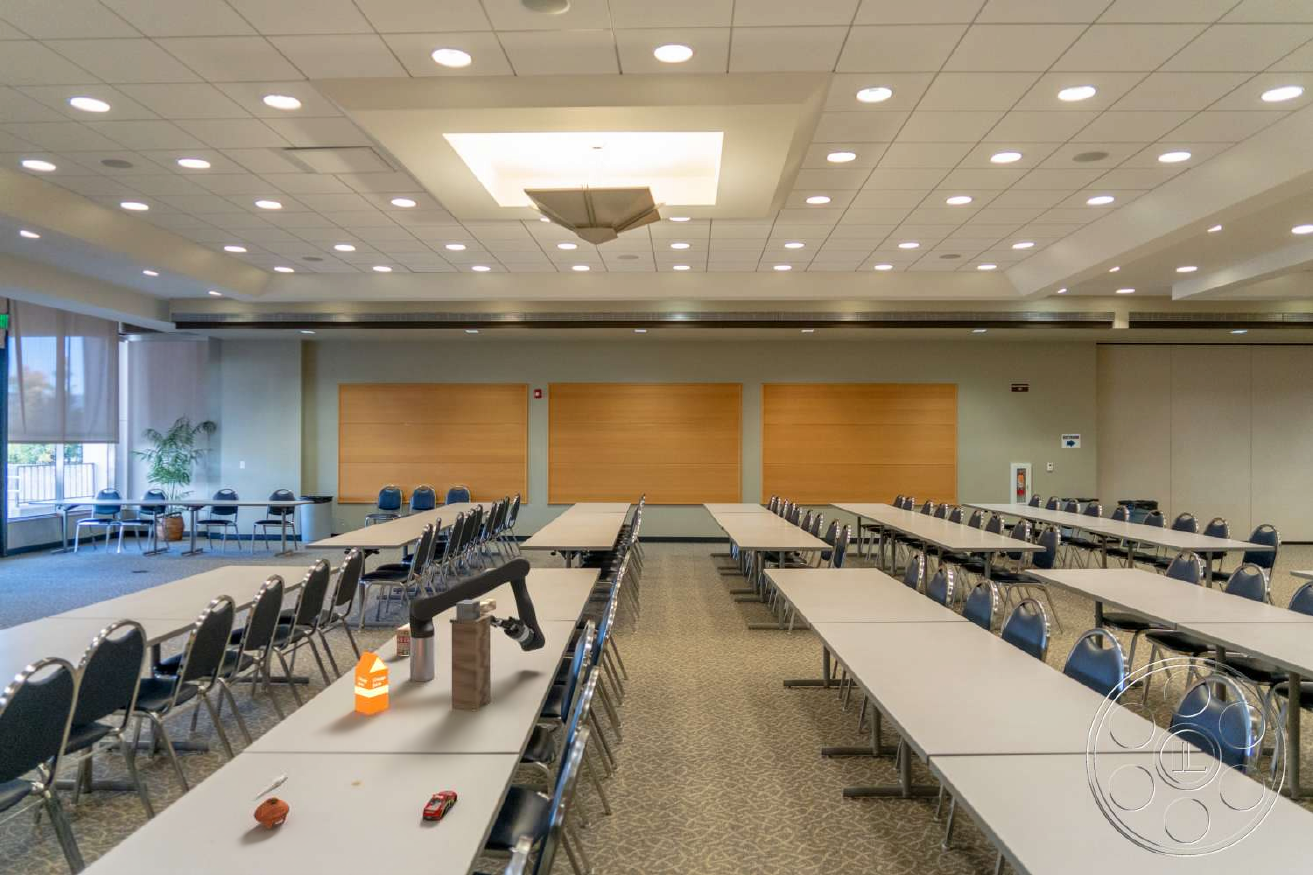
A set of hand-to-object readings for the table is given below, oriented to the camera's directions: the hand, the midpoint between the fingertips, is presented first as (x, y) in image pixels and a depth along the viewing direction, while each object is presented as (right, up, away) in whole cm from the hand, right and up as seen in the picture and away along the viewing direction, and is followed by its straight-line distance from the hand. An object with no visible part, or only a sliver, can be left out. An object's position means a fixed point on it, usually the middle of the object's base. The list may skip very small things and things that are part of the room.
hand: (499, 617), depth 297 cm
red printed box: (-51, -28, +55) cm, 80 cm away
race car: (+5, -27, -98) cm, 102 cm away
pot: (-35, -27, -106) cm, 115 cm away
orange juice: (-41, -27, -23) cm, 55 cm away
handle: (-5, +5, -15) cm, 16 cm away
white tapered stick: (-46, -27, -86) cm, 101 cm away
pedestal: (-6, -27, -20) cm, 34 cm away
